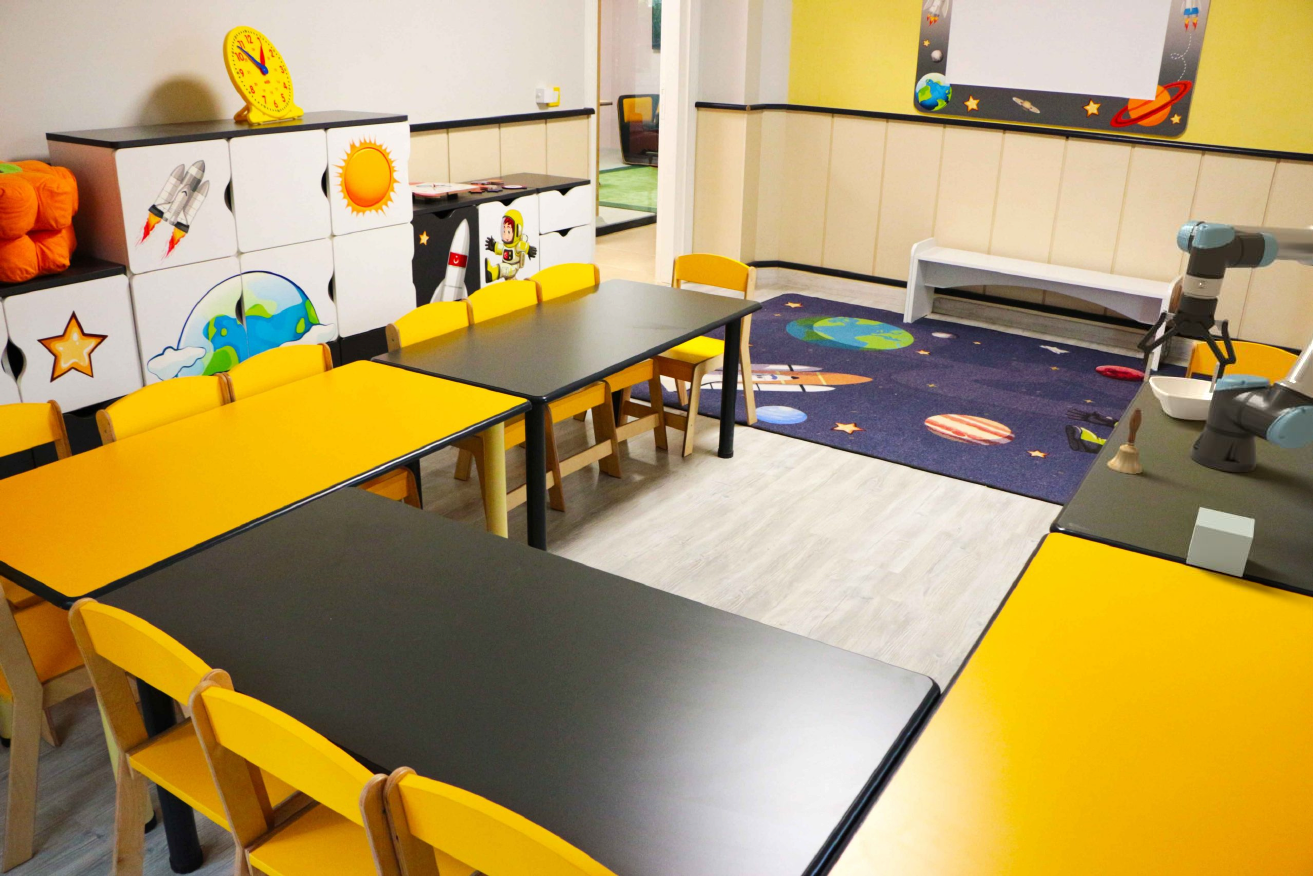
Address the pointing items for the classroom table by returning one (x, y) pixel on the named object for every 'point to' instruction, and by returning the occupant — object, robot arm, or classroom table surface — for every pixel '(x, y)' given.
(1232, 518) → the rounded gray box
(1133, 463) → the hand bell
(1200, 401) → the bowl
